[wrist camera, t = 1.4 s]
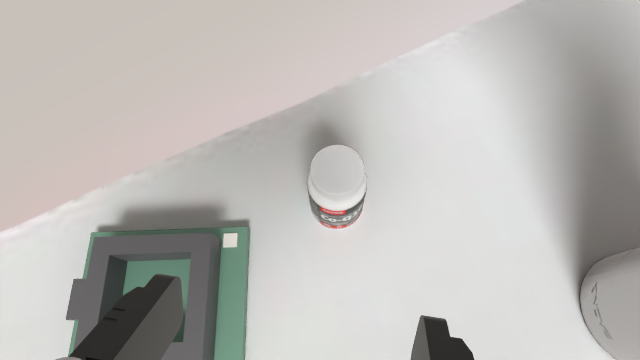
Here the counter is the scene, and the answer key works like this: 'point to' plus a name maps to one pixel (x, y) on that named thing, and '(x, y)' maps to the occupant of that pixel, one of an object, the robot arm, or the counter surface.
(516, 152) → the counter surface
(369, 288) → the counter surface
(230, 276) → the socket board
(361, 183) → the pill bottle
